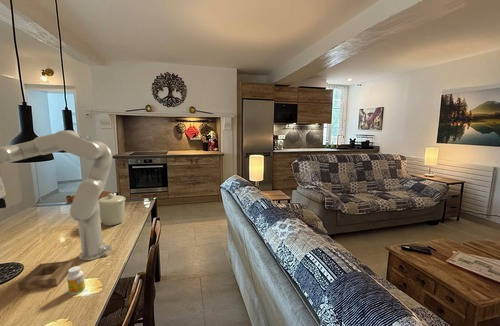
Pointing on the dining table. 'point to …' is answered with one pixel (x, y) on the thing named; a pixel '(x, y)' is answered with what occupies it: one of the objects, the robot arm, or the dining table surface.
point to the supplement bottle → (75, 280)
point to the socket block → (41, 280)
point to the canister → (112, 209)
